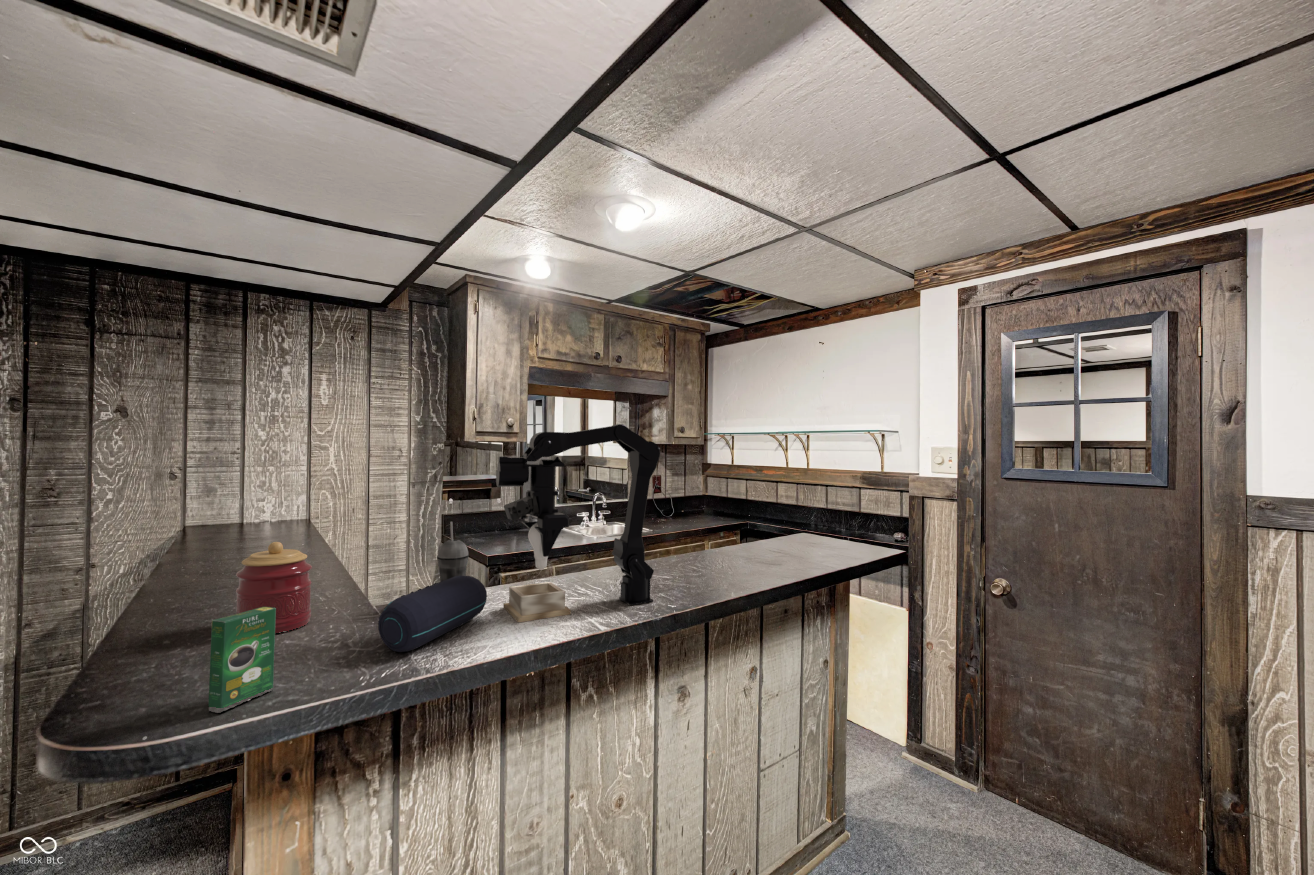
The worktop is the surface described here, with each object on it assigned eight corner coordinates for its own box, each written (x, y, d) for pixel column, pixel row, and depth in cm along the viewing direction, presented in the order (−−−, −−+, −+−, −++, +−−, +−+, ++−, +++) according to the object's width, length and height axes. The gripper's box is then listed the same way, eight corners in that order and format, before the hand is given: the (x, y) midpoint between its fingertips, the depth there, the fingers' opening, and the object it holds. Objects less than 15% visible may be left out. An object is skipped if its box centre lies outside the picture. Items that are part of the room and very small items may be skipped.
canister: (324, 622, 117) (326, 539, 117) (259, 642, 105) (260, 550, 105) (287, 613, 122) (288, 534, 122) (220, 631, 110) (222, 544, 111)
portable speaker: (453, 614, 123) (453, 569, 123) (491, 618, 121) (492, 573, 121) (366, 655, 99) (367, 600, 99) (412, 661, 97) (413, 605, 97)
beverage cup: (473, 601, 133) (474, 519, 133) (460, 610, 126) (461, 523, 126) (445, 600, 134) (446, 518, 134) (430, 609, 126) (431, 522, 127)
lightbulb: (560, 569, 126) (560, 521, 127) (542, 574, 121) (543, 524, 121) (539, 565, 129) (540, 519, 130) (521, 570, 124) (522, 522, 124)
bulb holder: (552, 600, 134) (552, 580, 134) (570, 614, 124) (570, 592, 124) (503, 607, 128) (503, 586, 128) (518, 622, 118) (518, 599, 118)
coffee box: (262, 688, 86) (263, 604, 86) (275, 690, 85) (277, 606, 85) (206, 712, 78) (208, 620, 78) (221, 715, 77) (222, 622, 77)
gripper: (496, 484, 129) (495, 550, 129) (521, 490, 113) (519, 565, 113) (541, 483, 135) (540, 546, 135) (571, 489, 119) (569, 560, 119)
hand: (541, 554), depth 125 cm, fingers closed on lightbulb, 5 cm apart
